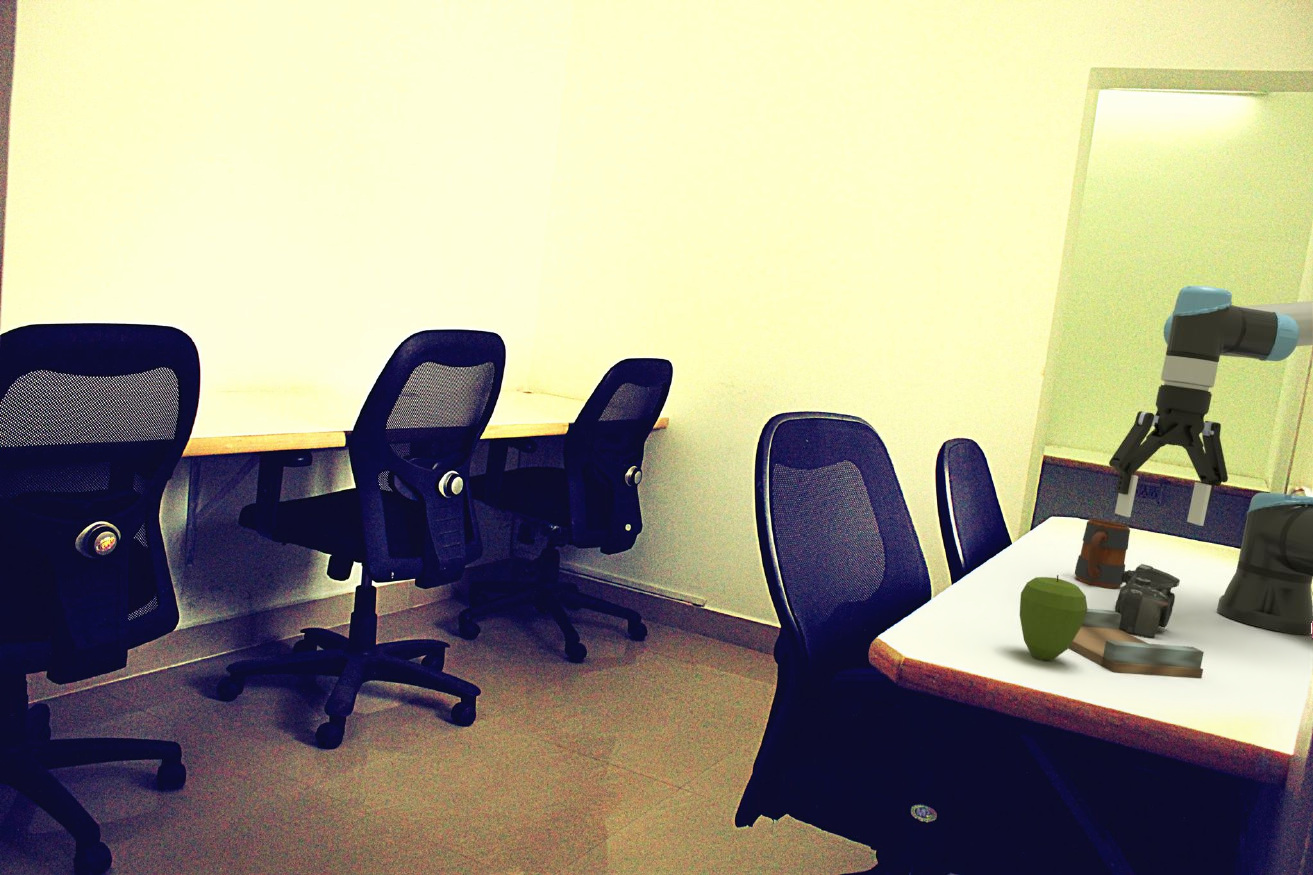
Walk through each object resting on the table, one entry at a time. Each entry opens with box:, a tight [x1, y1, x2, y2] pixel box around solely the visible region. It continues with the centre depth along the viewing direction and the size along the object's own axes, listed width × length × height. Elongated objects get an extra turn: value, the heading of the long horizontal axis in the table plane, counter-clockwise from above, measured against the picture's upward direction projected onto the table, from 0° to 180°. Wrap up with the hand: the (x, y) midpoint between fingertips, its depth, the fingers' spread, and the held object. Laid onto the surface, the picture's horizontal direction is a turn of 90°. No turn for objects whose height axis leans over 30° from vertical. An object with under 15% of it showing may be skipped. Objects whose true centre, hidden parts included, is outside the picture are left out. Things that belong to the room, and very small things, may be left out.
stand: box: [1068, 607, 1205, 679], centre depth 151 cm, size 14×20×4 cm
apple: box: [1019, 574, 1089, 661], centre depth 141 cm, size 9×8×12 cm
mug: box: [1074, 518, 1131, 589], centre depth 201 cm, size 9×12×12 cm
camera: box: [1114, 563, 1181, 639], centre depth 168 cm, size 13×10×10 cm
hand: (1159, 519), depth 167 cm, fingers open, 13 cm apart
